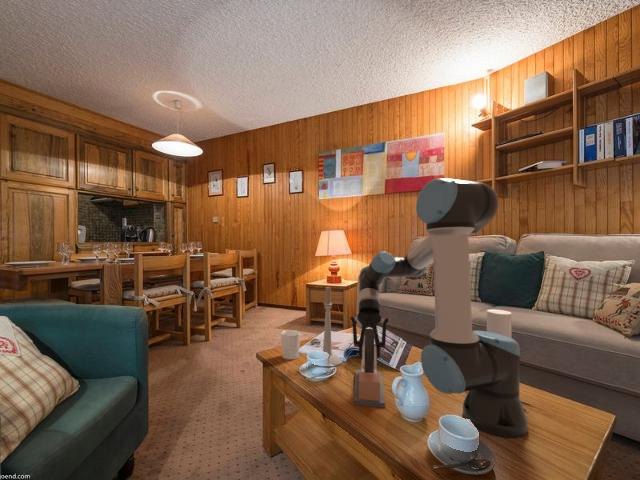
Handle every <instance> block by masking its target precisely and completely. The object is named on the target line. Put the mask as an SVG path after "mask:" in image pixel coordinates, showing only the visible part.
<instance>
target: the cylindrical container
mask: <svg viewBox="0 0 640 480" xmlns="http://www.w3.org/2000/svg"><path fill="white" fill-rule="evenodd" d="M512 317H513V314H512V312H510V311H508V310H503V309H492V308H491V309H486V332H491V333H496V334H500V335H503V336H507V337H509V338H512V331H513V329H512V321H513V320H512Z"/></svg>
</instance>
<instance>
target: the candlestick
mask: <svg viewBox="0 0 640 480" xmlns="http://www.w3.org/2000/svg"><path fill="white" fill-rule="evenodd" d="M331 289H332V288H331V287H330V286H326V287H325V302H324V303H323V305H324V309H325V313H324V314H325V315H324V316H325V317H324V331H323V346H322V347H323V349H322V352H323V351H324V352H327V353H328V354H329V356H330V358H329V361H330V363H331V364H332V365H335V366H336V367H338V366H337V365H339V364H341V363H342V362H343V363H344V360H343V361H342V360H341V359H340V358H339V357H338V356H337V355H336V354H337V353H336V354H335V352H333V351H332V348H333V347H332V328H331V327H332V324H331V318H332V317H331V309H332V305H333V303H332V301H331V298H332V297H331V296H332V295H331V293H332V292H331ZM343 363H342V364H343ZM342 364H341V365H342ZM339 366H340V365H339Z"/></svg>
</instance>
